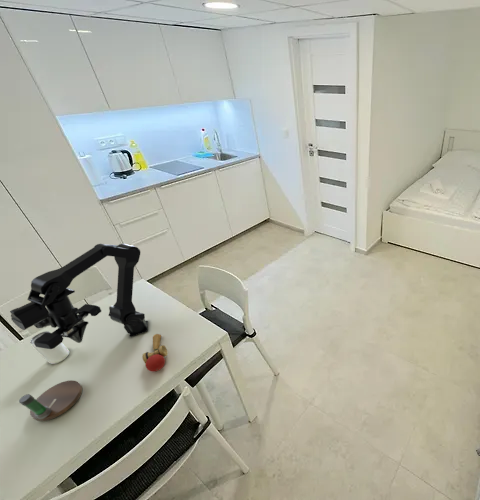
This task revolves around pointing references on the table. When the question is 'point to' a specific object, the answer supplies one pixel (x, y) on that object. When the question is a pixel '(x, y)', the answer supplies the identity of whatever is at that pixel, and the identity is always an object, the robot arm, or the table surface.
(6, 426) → the table surface
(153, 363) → the kendama
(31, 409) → the disc
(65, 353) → the can
